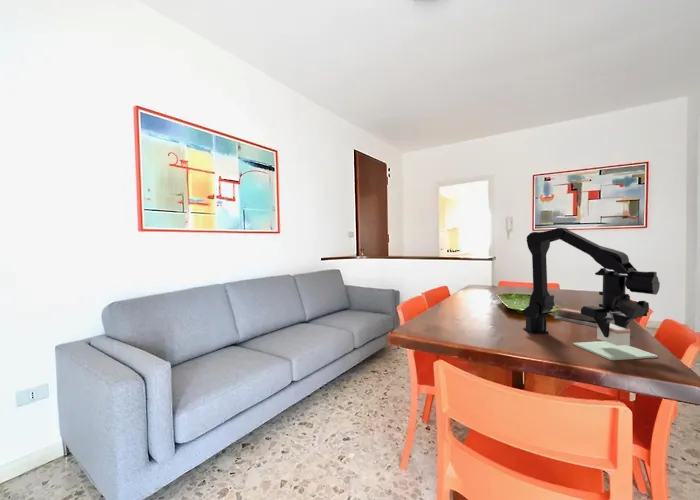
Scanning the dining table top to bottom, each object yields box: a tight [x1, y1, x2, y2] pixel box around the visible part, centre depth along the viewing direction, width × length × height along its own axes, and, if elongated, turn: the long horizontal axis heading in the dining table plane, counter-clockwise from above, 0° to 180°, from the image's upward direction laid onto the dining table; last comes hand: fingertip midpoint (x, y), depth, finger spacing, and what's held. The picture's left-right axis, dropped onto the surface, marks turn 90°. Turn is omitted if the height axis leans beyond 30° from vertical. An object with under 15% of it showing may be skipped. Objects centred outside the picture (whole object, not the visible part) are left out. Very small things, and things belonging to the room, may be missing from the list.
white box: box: [596, 323, 631, 346], centre depth 101 cm, size 7×5×5 cm, turn 6°
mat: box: [572, 340, 659, 361], centre depth 101 cm, size 16×14×1 cm
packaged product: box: [554, 307, 612, 328], centre depth 136 cm, size 18×5×10 cm
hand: (612, 336), depth 101 cm, fingers closed on white box, 4 cm apart
